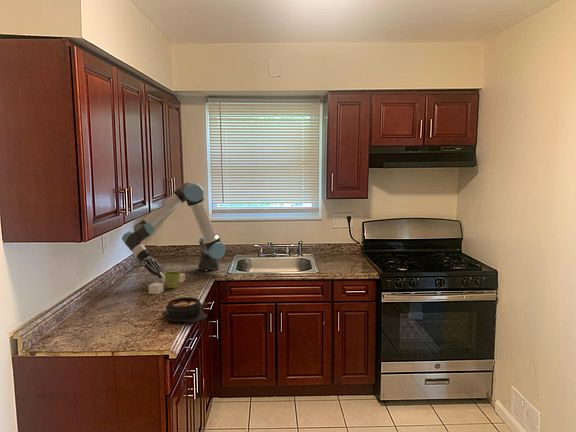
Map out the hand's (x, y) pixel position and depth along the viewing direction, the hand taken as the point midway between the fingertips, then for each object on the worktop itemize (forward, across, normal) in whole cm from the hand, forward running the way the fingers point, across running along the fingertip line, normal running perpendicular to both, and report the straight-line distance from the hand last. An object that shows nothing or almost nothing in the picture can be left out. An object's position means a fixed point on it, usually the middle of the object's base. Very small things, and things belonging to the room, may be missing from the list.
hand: (165, 281), depth 270 cm
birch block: (+3, -13, -2) cm, 13 cm away
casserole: (+32, +46, +26) cm, 62 cm away
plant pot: (+5, 0, 0) cm, 5 cm away
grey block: (+4, +12, -2) cm, 12 cm away
